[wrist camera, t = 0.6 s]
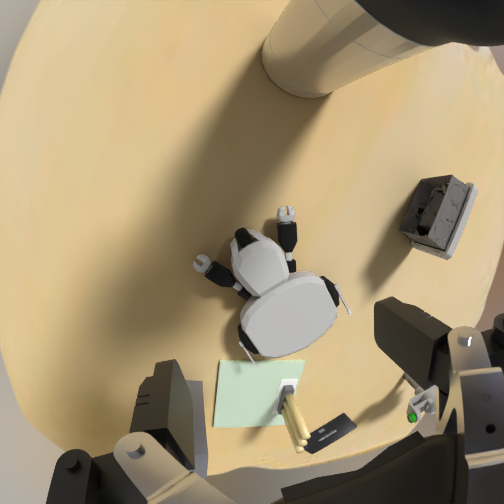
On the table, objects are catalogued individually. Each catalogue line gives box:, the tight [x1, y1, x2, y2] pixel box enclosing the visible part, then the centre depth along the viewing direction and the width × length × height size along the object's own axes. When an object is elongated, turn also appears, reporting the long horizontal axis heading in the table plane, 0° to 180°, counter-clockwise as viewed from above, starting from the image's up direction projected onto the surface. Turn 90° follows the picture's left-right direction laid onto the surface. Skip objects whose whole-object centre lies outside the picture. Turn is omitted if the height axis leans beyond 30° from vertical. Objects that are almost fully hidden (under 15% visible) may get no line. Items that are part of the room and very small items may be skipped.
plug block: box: [185, 380, 208, 478], centre depth 28 cm, size 6×5×12 cm
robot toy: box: [193, 206, 352, 371], centre depth 30 cm, size 12×4×15 cm
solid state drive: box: [303, 413, 357, 454], centre depth 42 cm, size 7×10×1 cm
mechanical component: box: [404, 373, 437, 423], centre depth 37 cm, size 3×10×10 cm, turn 101°
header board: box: [213, 360, 311, 453], centre depth 32 cm, size 13×11×10 cm
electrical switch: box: [400, 175, 478, 260], centre depth 28 cm, size 9×5×9 cm, turn 154°
